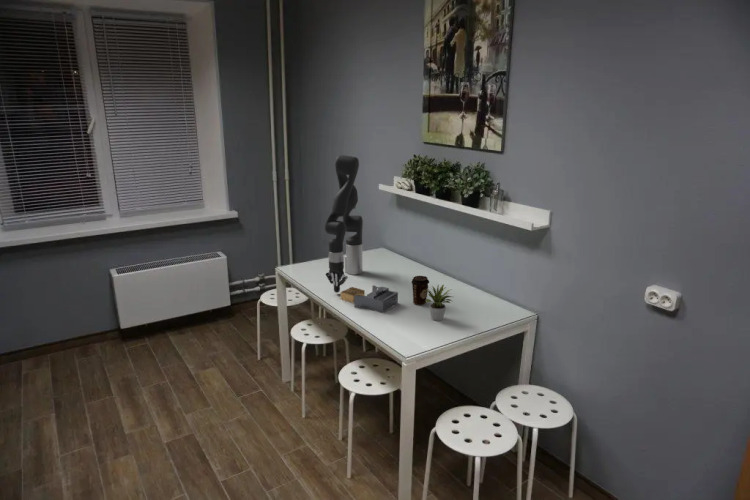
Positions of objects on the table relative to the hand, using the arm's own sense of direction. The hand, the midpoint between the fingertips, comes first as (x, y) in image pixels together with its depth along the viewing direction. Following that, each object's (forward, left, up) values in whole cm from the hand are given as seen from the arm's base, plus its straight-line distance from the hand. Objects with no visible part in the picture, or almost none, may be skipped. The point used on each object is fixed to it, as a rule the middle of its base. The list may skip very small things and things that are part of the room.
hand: (337, 292), depth 253 cm
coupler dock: (+24, 0, -1) cm, 24 cm away
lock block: (+10, 0, -2) cm, 10 cm away
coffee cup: (+41, +13, -1) cm, 43 cm away
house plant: (+56, 0, -1) cm, 56 cm away
